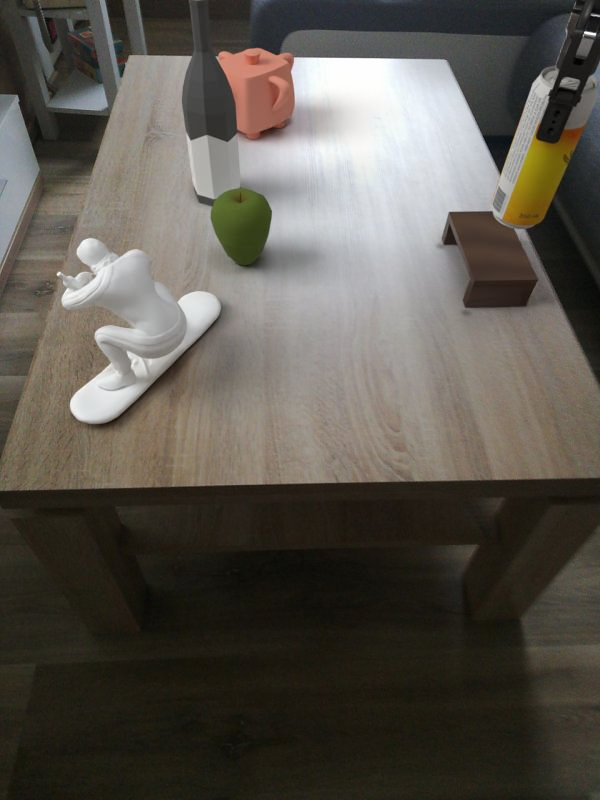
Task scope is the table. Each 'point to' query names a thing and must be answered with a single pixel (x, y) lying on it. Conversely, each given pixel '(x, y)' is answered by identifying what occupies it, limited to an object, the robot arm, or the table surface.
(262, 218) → the apple
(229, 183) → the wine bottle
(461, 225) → the shelf
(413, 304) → the table surface
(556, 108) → the robot arm
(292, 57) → the teapot
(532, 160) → the beer can
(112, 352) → the figurine
